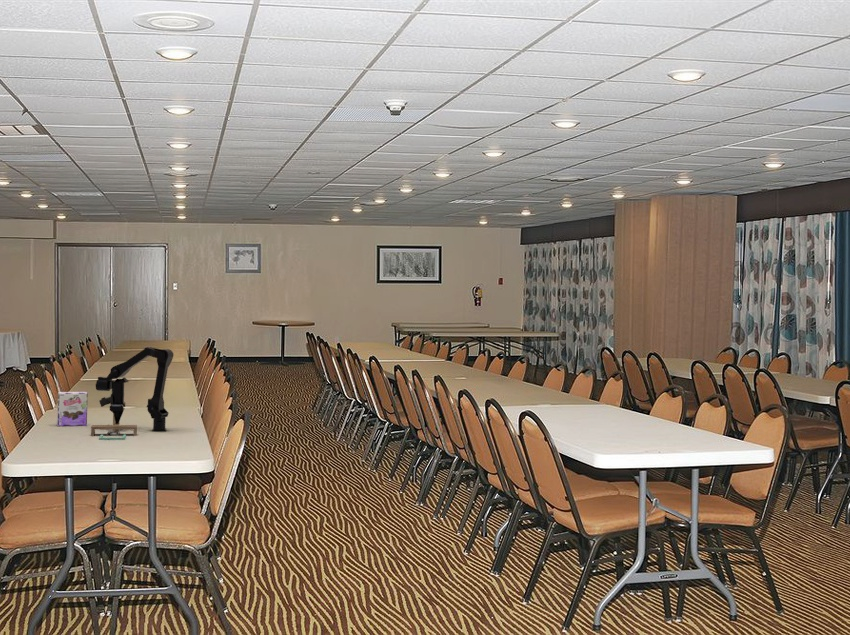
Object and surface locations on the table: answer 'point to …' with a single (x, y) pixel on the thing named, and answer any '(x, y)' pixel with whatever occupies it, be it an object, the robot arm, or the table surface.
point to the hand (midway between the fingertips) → (117, 423)
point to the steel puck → (114, 433)
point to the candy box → (72, 409)
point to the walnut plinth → (113, 428)
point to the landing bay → (112, 438)
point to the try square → (114, 424)
